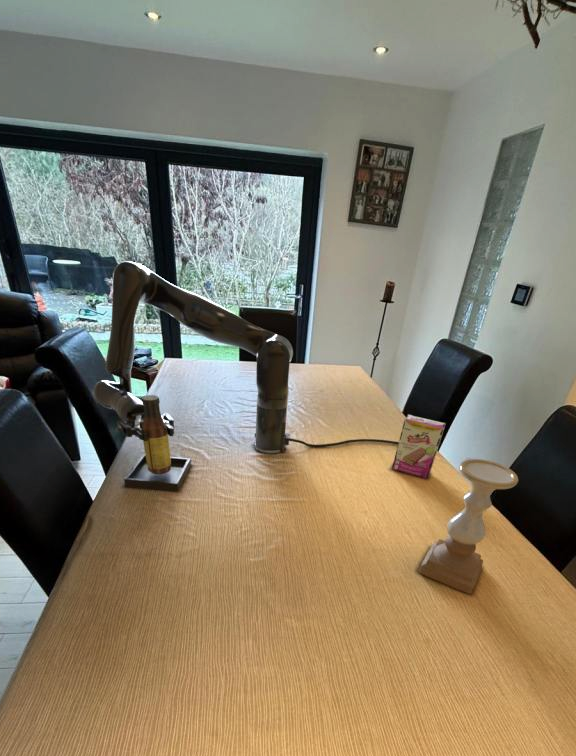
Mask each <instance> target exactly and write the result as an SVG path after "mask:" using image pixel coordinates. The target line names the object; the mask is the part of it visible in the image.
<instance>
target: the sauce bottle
mask: <svg viewBox="0 0 576 756" xmlns="http://www.w3.org/2000/svg"><path fill="white" fill-rule="evenodd" d="M141 401H142V403H143V405H144V414H145V416H144V420H143V422H142V429H143V430H144V431H145V432H146V434H147V441H143V440H142V442H143V449H144V454H145V455H146V462H147V466H148V470H149V471H150V472H151V473H153V474H164V473H167V472H169V471H170V470H171V457H172V456H171V451H170V441H169V435H168V432H167V427H166V425H165V423H164V420H163V418H162V416H163V415H162V413H161V409H160V408H161V407H160V401H161V400H160V398H159V396H158V395H155V394H148V395H144V396H142V397H141Z"/></svg>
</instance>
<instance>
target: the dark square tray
mask: <svg viewBox="0 0 576 756" xmlns="http://www.w3.org/2000/svg"><path fill="white" fill-rule="evenodd" d="M170 457H171V470H170V471H169V472H167V473H164V474H153V473H151V472H150V471H149V470H148V466H147V462H146V455H145V453H142V455H141V456H140V457H139V459H138V460H137V461H136V462H135V464H134V465H133V467H132V468H131V469H130V470H129V472H128V473H127V474H126V475H125V477H123V481H124V487H125V488H134V489H146V490H157V491H158V490H159V491H168V492H169V491H170V492H179V490H180V488H181V487H182V484H183V483H184V481H185V479H186V477H187V475H188V473H189V471H190V469H191V468H192V458H189V457H179V456H170Z"/></svg>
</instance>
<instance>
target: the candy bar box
mask: <svg viewBox="0 0 576 756" xmlns="http://www.w3.org/2000/svg"><path fill="white" fill-rule="evenodd" d="M446 426H447V425H446V422H441V421H438V420H433V419H428V418H424V417H420V416H416V415H413V414H407V416H406V417H405V419H404V421H403V424H402V428H401V432H400V436H399V440H398V442H399V443H398V444H397V446H396V451H395V455H394V459H393V462H392V466H391V470H392V471H393V470H394V471H398V472H399V473H400V472H401V473H404V474H408V475H412V476H414V477H418V478H422V479H426V480H427V479H428V478H429V476H430V474H431V472H432V469H433V465H434V462H435V459H436V455H437V453H438V450H439V447H440V445H439V444H440V442H441V440H442V437H443V434H444V431H445V428H446Z"/></svg>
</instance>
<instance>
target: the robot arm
mask: <svg viewBox="0 0 576 756" xmlns="http://www.w3.org/2000/svg"><path fill="white" fill-rule="evenodd" d="M111 286H112V288H111V289H112V290H111V291H112V292H111V293H112V294H111V295H112V296H111V297H112V299H111V300H112V305H111V307H112V308H111V324H110V326H111V327H110V334H109V341H108V347H107V353H106V357H105V359H106V360H105V364H104V367H105V371H106V372H107V373H108V374H110V375H112V376H114V377H116V378H119V382H115V381H110V380H99V381H97V382H96V383H95V385H94V387H93V397H94V399H95V400H96V402H97V403H98V404H99V405H100V406H102V407H104V408H106V409H108V410H110V411H113V412H114V413H115V414H116V415H117V416H118V417H119V419H117V420H116V423H117V430H118V432H120V433H122V434H123V435H124V436H125V437H127V438H132V437H133V436H135V437H136V438H138V439H139V440H141V441H142V442H143V441H147V434H146V432H145V431H144V430H143V429H142V422H143V420H144V416H145V414H144V405H143V403H142V399H139V398H138V397H136V396H134V395H133V389H132V368H133V362H134V357H135V352H136V338H135V321H136V316H137V315H136V314H137V310H138V308H139V304H140V303H143V304H146V305H149V306H151V307H154V308H156V309H158V310H160V311H163V312H165V313H167V314H169V315H170V316H171V317H173V318H174V319H176V321H178V322H179V323H180V324H182V325H183V326H184V327H186V328H187V329H189V330H190V331H192V332H194V333H196V334H198V335H200V336H202V337H204V338H206V339H208V340H211V341H213V342H215V343H219V344H223V345H227V346H232V347H235V348H239V349H242V350H245V351H246V352H248V353H251V354H252V355H254V356H256V370H255V371H256V373H255V374H256V375H255V377H256V378H255V384H256V390H257V391H256V394H257V395H256V413H255V433H254V439H255V440H254V449H255V450H256V451H258V452H259V453H263V454H269V455H270V454H279V453H284V450H285V446H289V445H290V442H293V443H299V444H302V445H304V446H306V447H310V448H326V447H334V446H340V445H341V446H342V445H344V444H345V445H346V444H350V443H360V442H362V443H363V442H365V443H369V442H370V443H371V442H372V443H384V444H393V445H398V443H399V441H394V440H386V439H374V438H373V439H372V438H357V439H347V440H342V441H338V442H331V443H323V444H322V443H321V444H320V443H319V444H313V443H308V442H306V441H304V440H300V439H295V438H291V437H290V435H291V434H290V433H286V429H287V428H286V427H287V416H288V415H287V413H288V401H289V393H290V392H289V391H290V389H289V388H290V387H289V375H290V363H291V361H292V359H293V356H294V350H293V349H294V348H293V346H292V344H291V343H290V341H289V340H288V339H287V338H286V337H284V336H282V335H280V334H277V333H275V332H272V331H269V330H267V329H264V328H261V327H259V326H257V325H254V324H252V323H251V322H249V321H247V320H246V319H244V318H242V317H241V316H239V315H237V314H236V313H233V312H232V311H230V310H228V309H226V308H225V307H223V306H221V305H220V304H218V303H216V302H213V301H211V300H210V299H207V298H206V297H203V296H201V295H199V294H198V293H197V294H196V293H194V292H192V291H188V290H186V289H184V288H180V287H179V286H176V285H174V284H173V283H170V282H169V281H167V280H165V279H164V278H162V277H161V276H159V275H158V274H156V273H155V272H153V271H152V270H150V268H147V267H146V266H145V265H142V264H140V263H136V262H133V261H129V260H128V261H127V260H126V261H125V260H124V261H122V262H119V263H118V264H117V265H116V267H115V268H114V270H113V273H112V285H111ZM161 416H162V418H163V420H164V423H165V425H166V427H167V432H168V437H173V436H174V434H175V419H174V418H173V417H172V416H171V415H170V414H169V413H168V412H163V414H162V415H161ZM441 445H442V442H441V441H440V444H439V446H441Z"/></svg>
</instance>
